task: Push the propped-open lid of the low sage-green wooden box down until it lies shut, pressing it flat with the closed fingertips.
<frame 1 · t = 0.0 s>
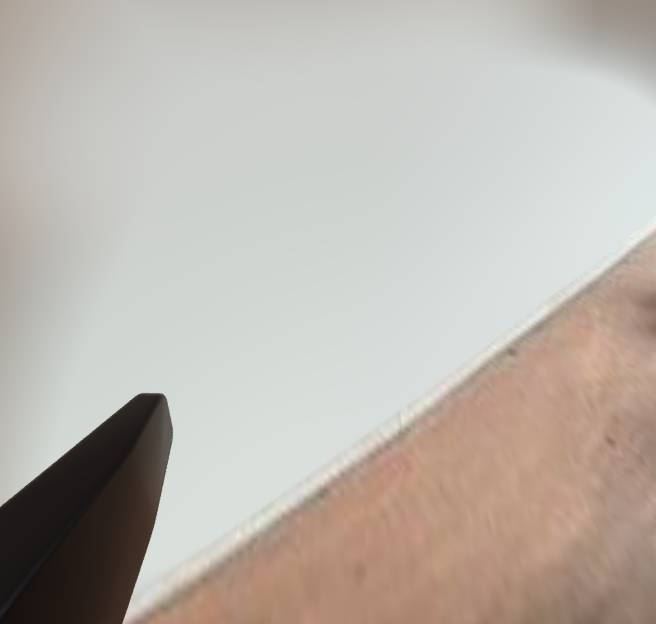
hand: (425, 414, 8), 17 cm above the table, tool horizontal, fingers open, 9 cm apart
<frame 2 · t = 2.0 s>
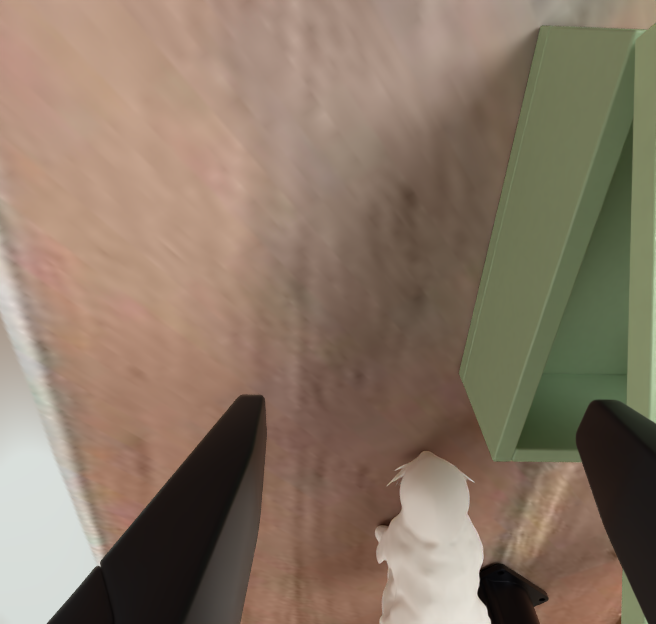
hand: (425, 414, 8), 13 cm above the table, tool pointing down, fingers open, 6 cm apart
white animal figurine: (420, 494, 30), on the table
box: (632, 238, 21), on the table
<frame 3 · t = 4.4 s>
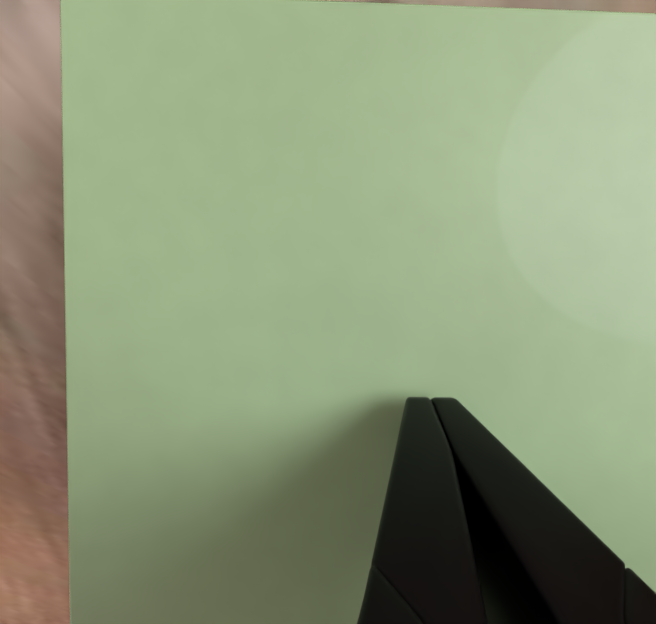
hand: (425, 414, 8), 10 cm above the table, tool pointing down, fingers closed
lid: (416, 468, 9), point 10 cm above the table, hinge at 28.7°
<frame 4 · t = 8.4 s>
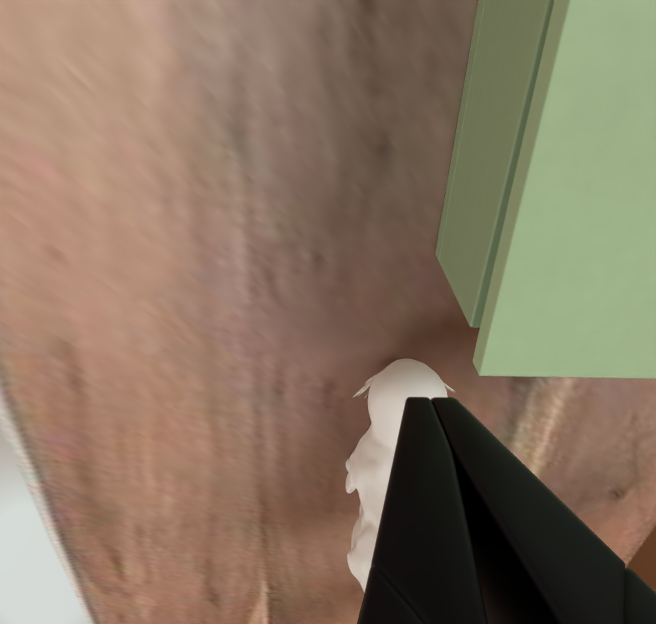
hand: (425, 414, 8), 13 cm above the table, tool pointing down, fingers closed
white animal figurine: (396, 417, 26), on the table
box: (641, 62, 17), on the table
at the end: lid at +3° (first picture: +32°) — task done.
